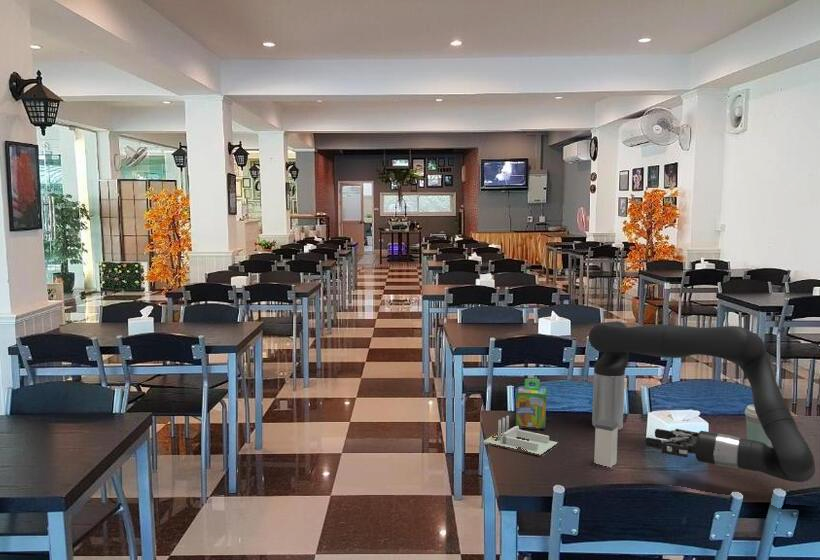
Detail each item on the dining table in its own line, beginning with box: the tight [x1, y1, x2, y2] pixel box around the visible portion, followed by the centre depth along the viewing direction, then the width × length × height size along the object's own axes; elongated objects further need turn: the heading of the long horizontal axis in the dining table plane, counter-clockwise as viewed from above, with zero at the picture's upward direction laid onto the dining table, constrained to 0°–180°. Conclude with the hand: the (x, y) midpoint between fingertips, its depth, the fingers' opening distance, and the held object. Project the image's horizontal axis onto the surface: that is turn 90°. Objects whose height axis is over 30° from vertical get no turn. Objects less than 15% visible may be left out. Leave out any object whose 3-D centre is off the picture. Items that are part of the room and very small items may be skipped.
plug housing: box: [593, 420, 619, 469], centre depth 179 cm, size 4×4×11 cm
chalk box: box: [515, 378, 548, 429], centre depth 210 cm, size 9×9×15 cm
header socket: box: [482, 415, 559, 455], centre depth 193 cm, size 12×18×7 cm, turn 55°
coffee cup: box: [744, 404, 773, 448], centre depth 190 cm, size 8×8×12 cm
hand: (650, 437), depth 172 cm, fingers open, 8 cm apart
